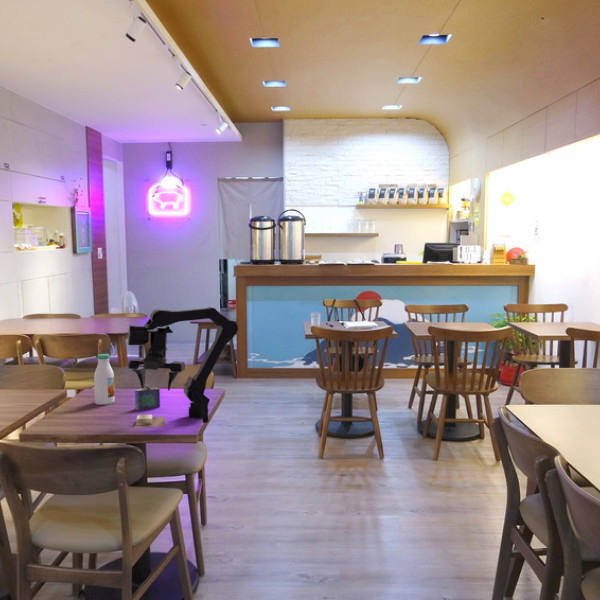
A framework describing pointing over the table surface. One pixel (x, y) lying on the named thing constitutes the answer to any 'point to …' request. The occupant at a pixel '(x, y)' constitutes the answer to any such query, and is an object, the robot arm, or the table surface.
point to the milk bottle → (104, 381)
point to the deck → (153, 423)
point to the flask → (147, 398)
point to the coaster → (144, 419)
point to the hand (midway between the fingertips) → (156, 389)
